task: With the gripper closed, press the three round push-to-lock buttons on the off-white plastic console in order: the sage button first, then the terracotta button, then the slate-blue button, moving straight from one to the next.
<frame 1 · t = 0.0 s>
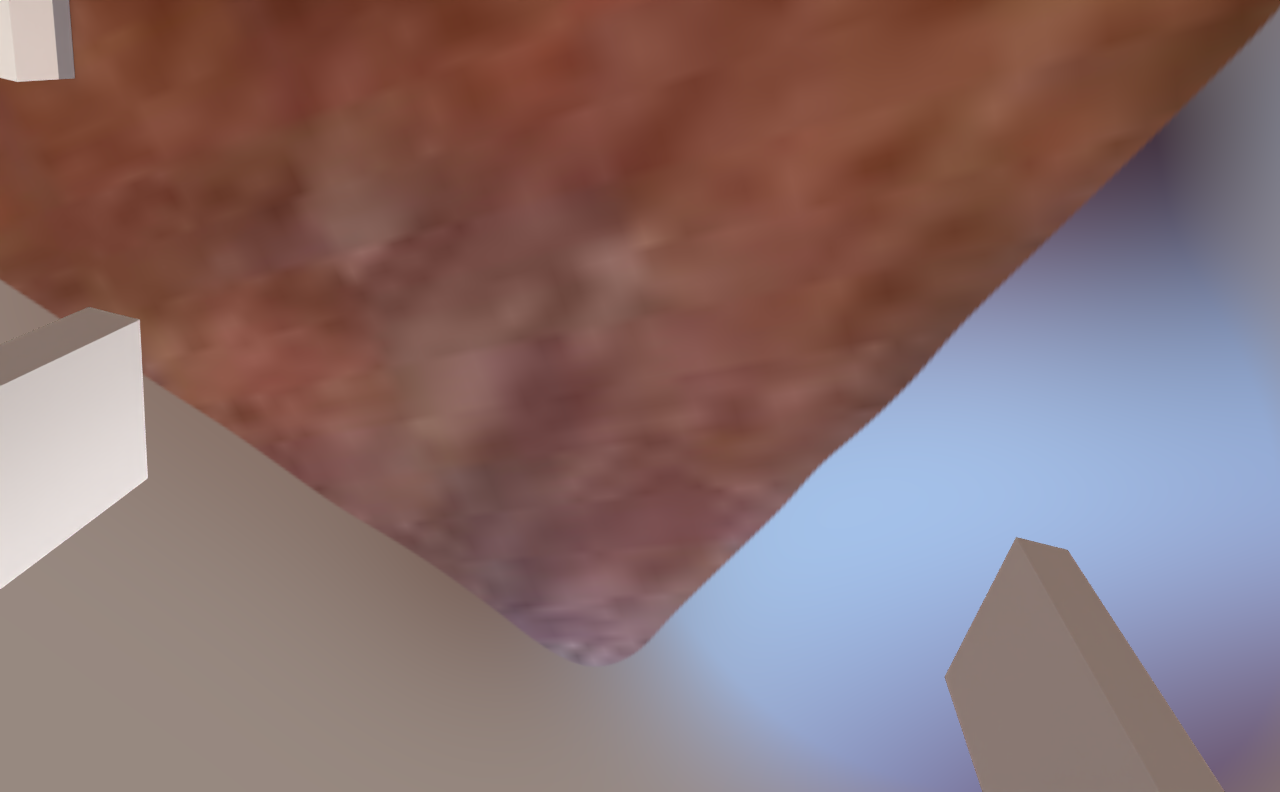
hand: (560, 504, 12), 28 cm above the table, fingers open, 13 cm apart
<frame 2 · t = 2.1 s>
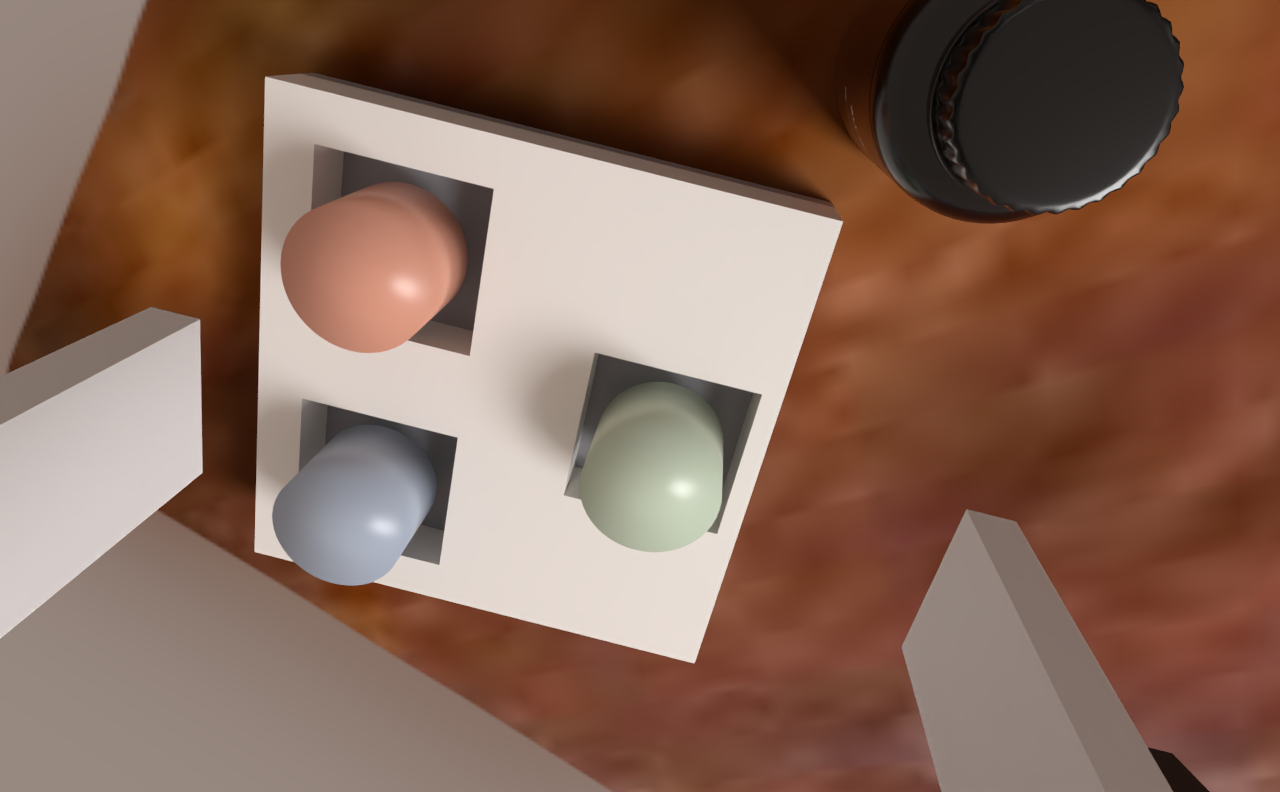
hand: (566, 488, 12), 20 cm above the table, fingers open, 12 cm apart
slate button: (359, 502, 32), point 5 cm above the table, slide at 0.0 cm
console: (528, 375, 34), on the table
supplement bottle: (932, 74, 28), on the table
sage button: (655, 464, 30), point 5 cm above the table, slide at 0.0 cm
terracotta button: (380, 264, 28), point 5 cm above the table, slide at 0.0 cm
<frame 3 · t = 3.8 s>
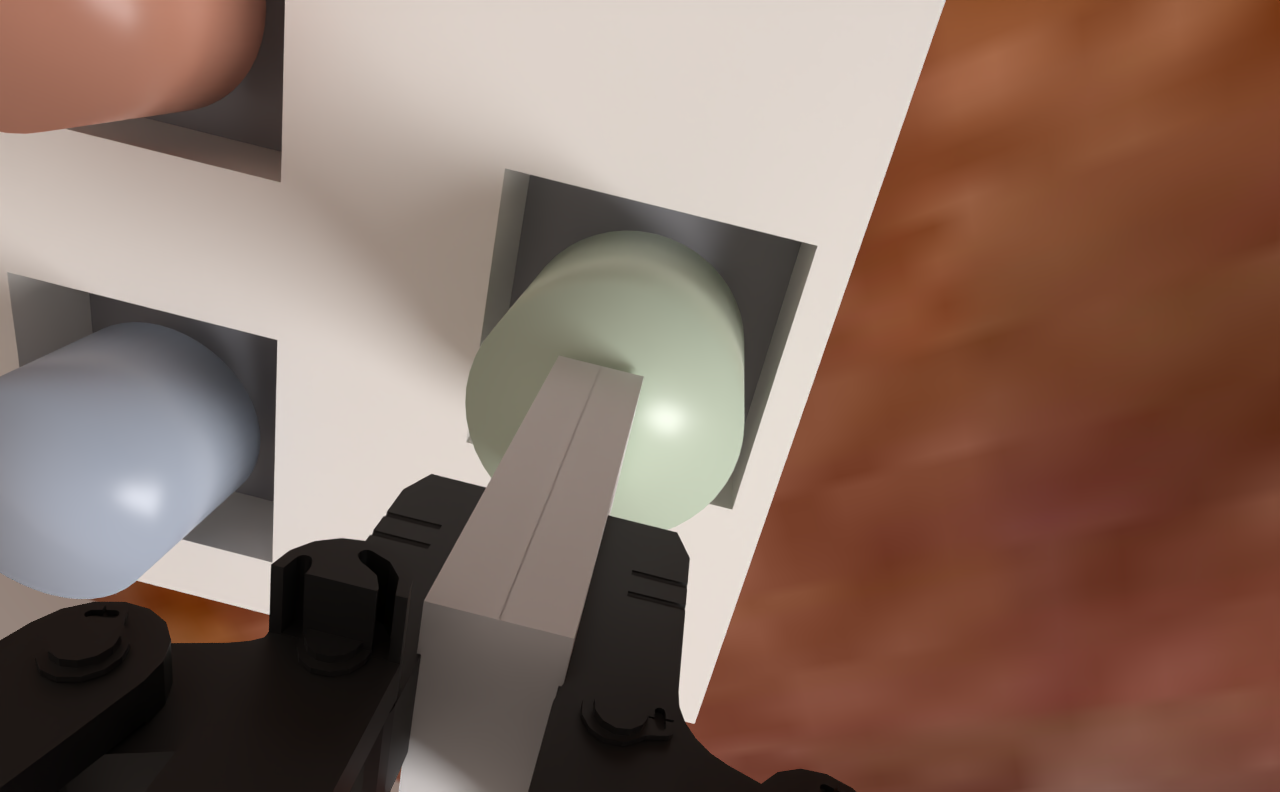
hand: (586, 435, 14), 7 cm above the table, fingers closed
slate button: (107, 454, 18), point 5 cm above the table, slide at 0.0 cm
console: (416, 246, 20), on the table
sage button: (618, 377, 16), point 5 cm above the table, slide at 0.0 cm, touching gripper
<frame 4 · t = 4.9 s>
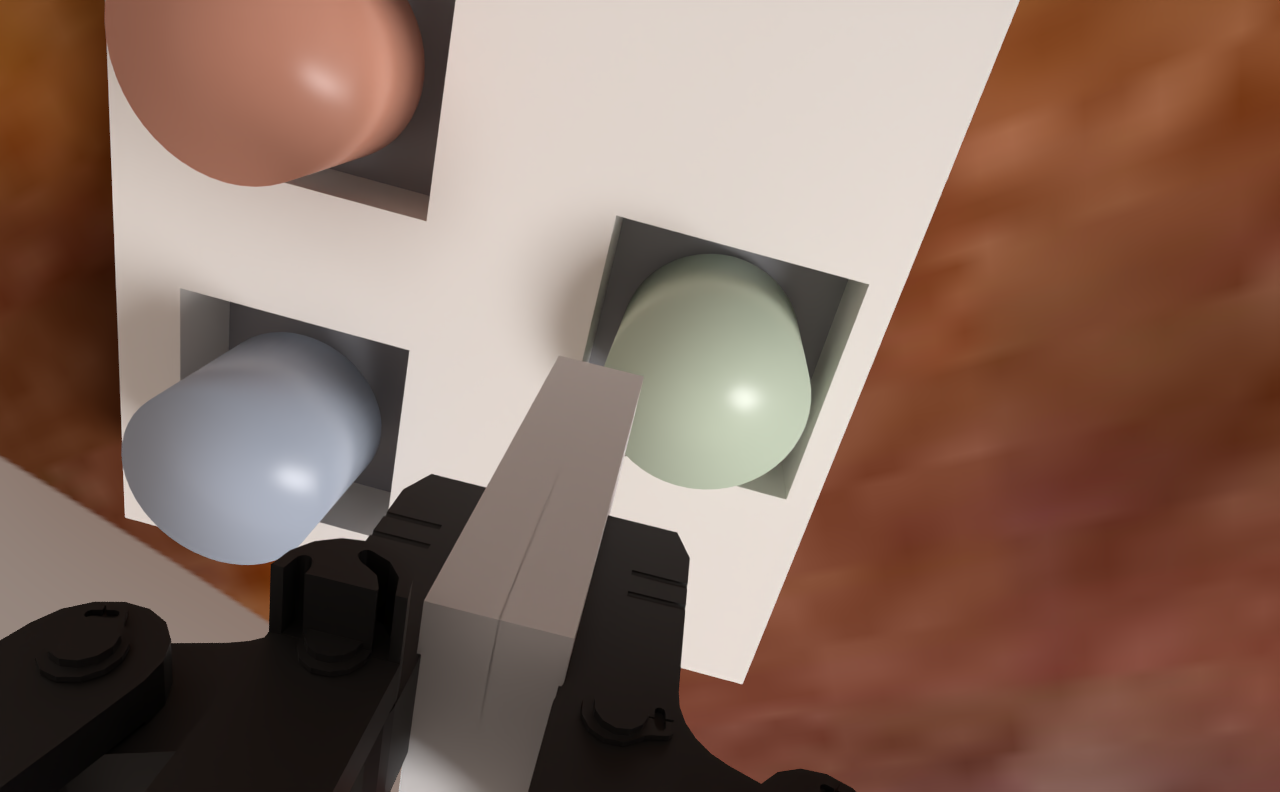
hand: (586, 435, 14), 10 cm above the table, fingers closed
slate button: (262, 444, 22), point 5 cm above the table, slide at 0.0 cm
console: (516, 271, 24), on the table
sage button: (706, 367, 21), point 3 cm above the table, slide at 1.4 cm
terracotta button: (280, 54, 17), point 5 cm above the table, slide at 0.0 cm
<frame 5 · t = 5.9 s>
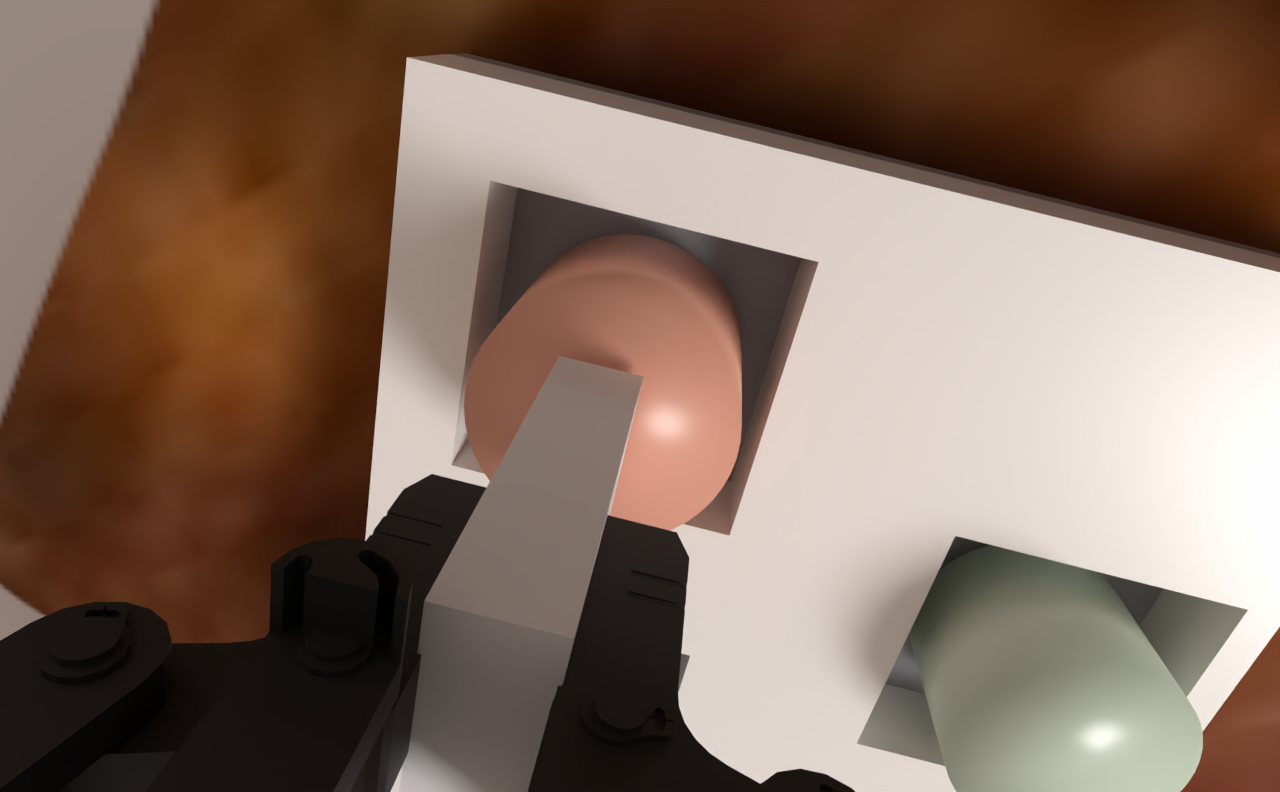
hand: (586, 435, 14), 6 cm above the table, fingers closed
console: (778, 534, 22), on the table
sage button: (1037, 682, 18), point 3 cm above the table, slide at 1.4 cm
terracotta button: (616, 380, 16), point 4 cm above the table, slide at 1.0 cm, touching gripper
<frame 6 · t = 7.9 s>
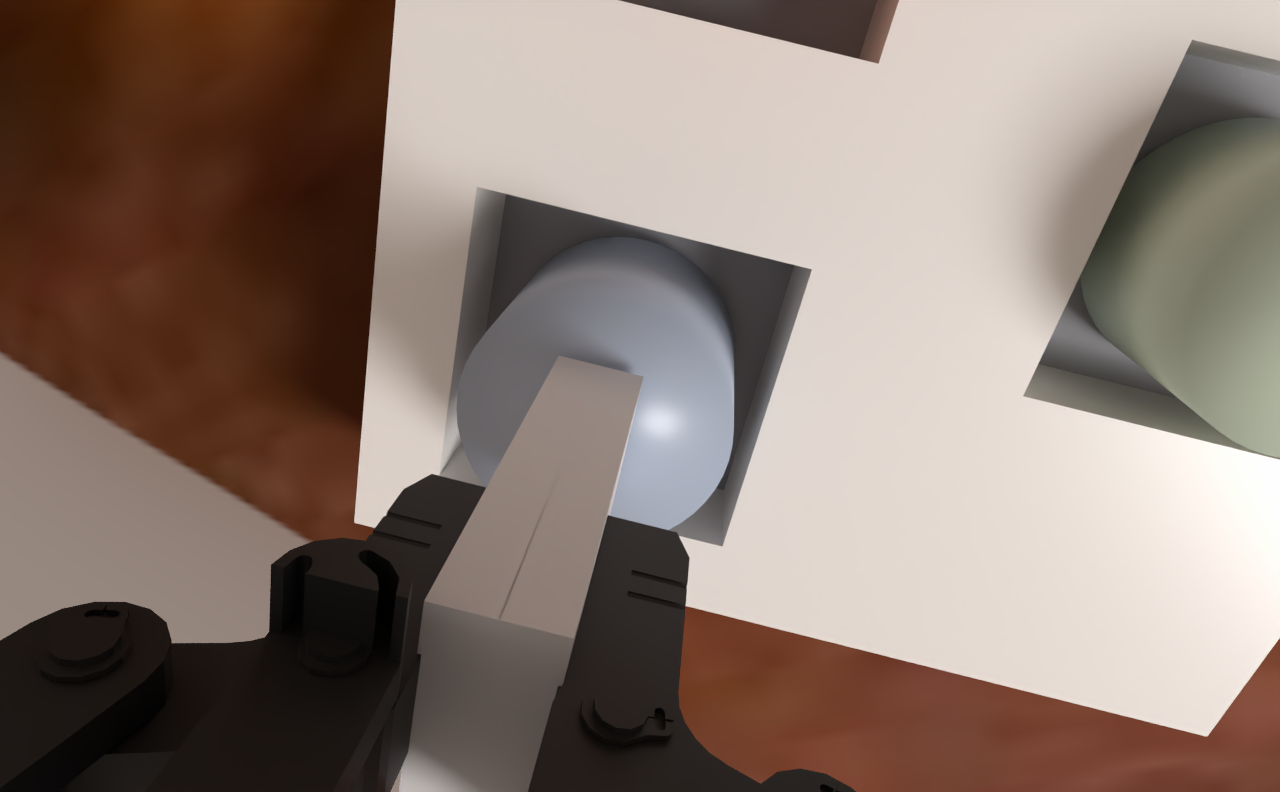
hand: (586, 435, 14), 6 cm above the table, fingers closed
slate button: (609, 382, 16), point 3 cm above the table, slide at 1.3 cm, touching gripper
console: (906, 167, 17), on the table
sage button: (1278, 279, 14), point 3 cm above the table, slide at 1.4 cm
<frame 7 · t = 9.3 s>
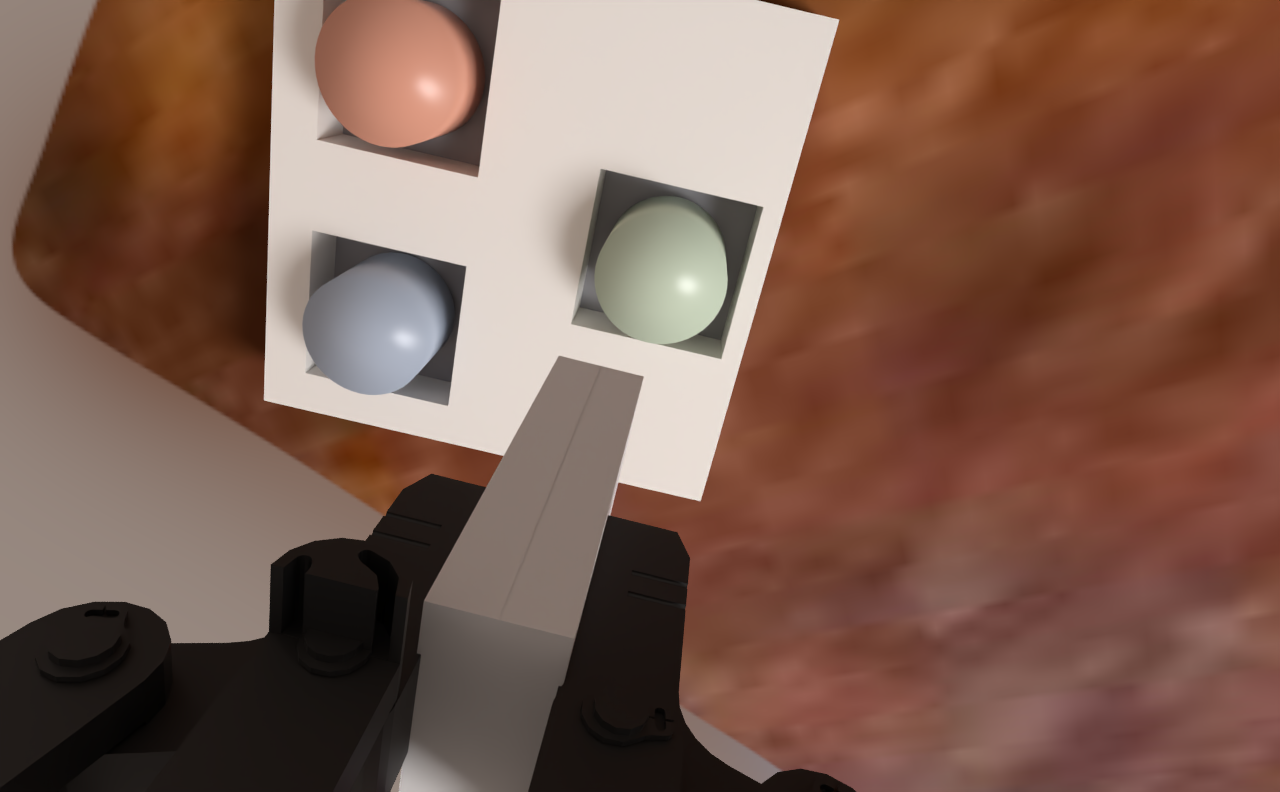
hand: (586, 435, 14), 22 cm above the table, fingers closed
slate button: (382, 321, 34), point 3 cm above the table, slide at 1.4 cm
console: (533, 217, 35), on the table
sage button: (663, 267, 32), point 3 cm above the table, slide at 1.4 cm
terracotta button: (404, 71, 30), point 3 cm above the table, slide at 1.4 cm
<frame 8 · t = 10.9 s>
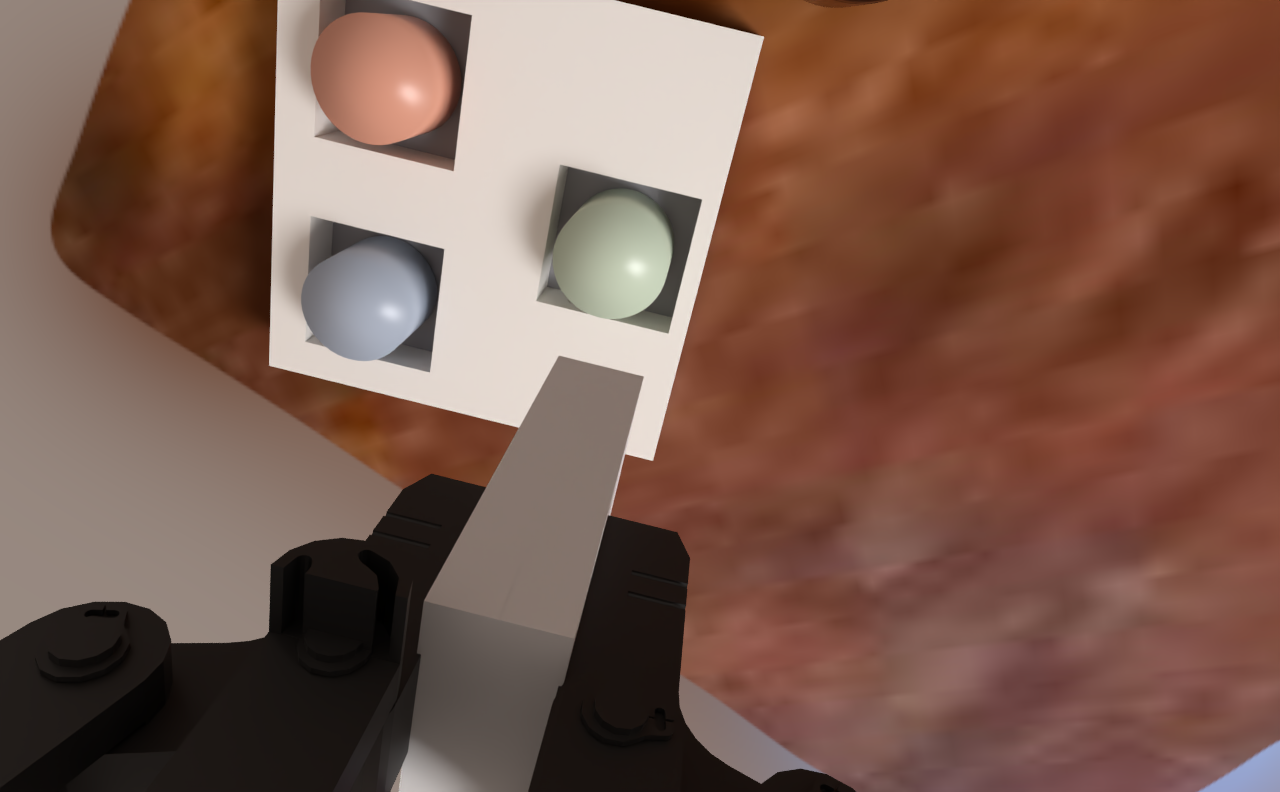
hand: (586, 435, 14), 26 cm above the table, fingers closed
slate button: (372, 297, 38), point 3 cm above the table, slide at 1.4 cm
console: (506, 206, 39), on the table
sage button: (616, 252, 36), point 3 cm above the table, slide at 1.4 cm
terracotta button: (389, 78, 34), point 3 cm above the table, slide at 1.4 cm
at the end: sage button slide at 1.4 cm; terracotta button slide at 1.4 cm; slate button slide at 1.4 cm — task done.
